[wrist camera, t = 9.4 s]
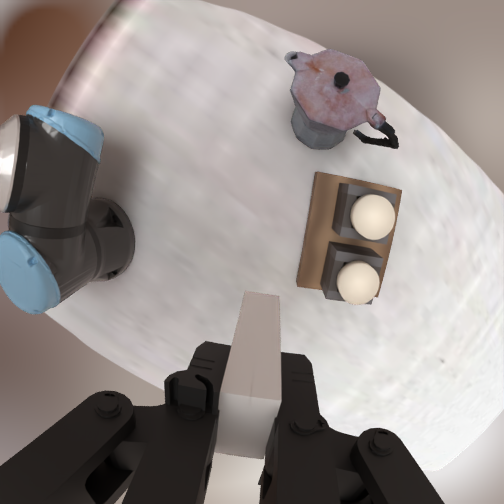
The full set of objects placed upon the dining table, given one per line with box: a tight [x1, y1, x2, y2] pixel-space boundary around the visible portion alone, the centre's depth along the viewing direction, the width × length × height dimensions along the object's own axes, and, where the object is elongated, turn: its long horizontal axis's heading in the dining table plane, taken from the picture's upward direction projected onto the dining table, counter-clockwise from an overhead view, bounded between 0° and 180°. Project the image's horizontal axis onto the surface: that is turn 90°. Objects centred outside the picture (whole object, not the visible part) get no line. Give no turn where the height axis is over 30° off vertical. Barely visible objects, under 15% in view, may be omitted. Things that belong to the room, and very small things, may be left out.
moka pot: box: [285, 49, 399, 149], centre depth 32 cm, size 10×15×20 cm, turn 56°
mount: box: [296, 172, 402, 304], centre depth 42 cm, size 14×18×8 cm
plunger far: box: [337, 261, 380, 305], centre depth 40 cm, size 6×6×8 cm
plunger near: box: [350, 194, 395, 240], centre depth 38 cm, size 6×6×8 cm
